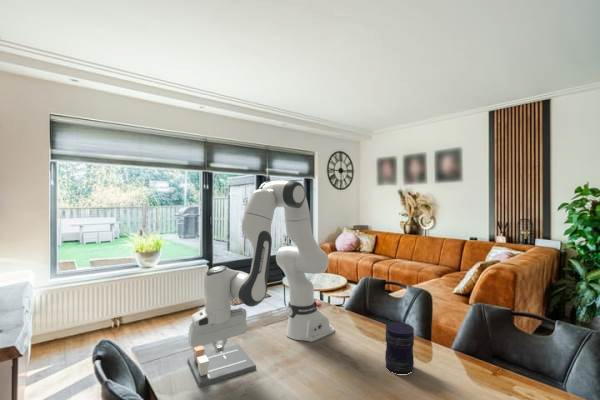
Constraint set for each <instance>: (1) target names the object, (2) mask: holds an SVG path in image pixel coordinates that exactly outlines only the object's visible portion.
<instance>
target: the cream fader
mask: <svg viewBox="0 0 600 400" xmlns="http://www.w3.org/2000/svg"><path fill="white" fill-rule="evenodd" d="M197 363H198V371H199V373H200V375H201V376H203V375H206V374H208V366H209V360H208V358H207V356H206V355H204V356H201V357H197Z"/></svg>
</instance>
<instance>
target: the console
mask: <svg viewBox="0 0 600 400" xmlns="http://www.w3.org/2000/svg"><path fill="white" fill-rule="evenodd" d="M204 355H206V356H207V358H208V360H209V366H208V374H206V375H203V376H201V375H200V373H199V371H198V363H196V361H195V359H194V355H192V356H187V364H188V365H189V367H190V370H191V372H192V374H193V377H194V378H195V380H196V383H197V386H198V387H199V388H201V387H204V386H206V385H209V384H213V383H216V382H220V381H223V380H226V379H230V378H232V377H235V376H239V375H241V374H245V373H248V372H251V371H252V372H253V371H254V370H255V371H256V370H257V364H256V363H255V362H254V361H253V359H252V358H251V357H250V356H249V355H248V354H247V352H246V351H245V350H244V349H243V348H242V346H241V345H240V344H234V345H231V346H226V347H224V351H222V352H218V353H216V352H215V349H214V350H211V351H208V352H207V351H206V352H204V354H203V356H204Z"/></svg>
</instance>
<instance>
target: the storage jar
mask: <svg viewBox="0 0 600 400" xmlns="http://www.w3.org/2000/svg"><path fill="white" fill-rule="evenodd" d="M414 332H415V329H414V327H413V326H412V325H410V324H408V323H406V322H401V321H390V322H388V323H386V325H385V339H384V340H385V342H386V343H385V344H386V345H385V346H386V348H385V353H384V355H385V356H384V359H385V365H386V366H385V369H386V368H387V369H388V370H389V371H390V372H389V371H388V370H387V369H386V370H387V371H388V372H389V373H391V372H393V373H396V374H408V373H410V372H412V370H413V371H414V363H415V362H414V354H413V353H414V352H413V351H414V344H415V342H414V341H415V336H414V335H415V333H414ZM393 373H392V374H393ZM396 374H395V375H396Z"/></svg>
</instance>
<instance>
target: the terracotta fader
mask: <svg viewBox="0 0 600 400" xmlns="http://www.w3.org/2000/svg"><path fill="white" fill-rule="evenodd" d="M192 350H193V351H192V352H194V354H193V356H194V359H195V361H196V363H197V357H201V356H203V354H204V353H205V348H204V345H201V346H198V347H194V348H192Z"/></svg>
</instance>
